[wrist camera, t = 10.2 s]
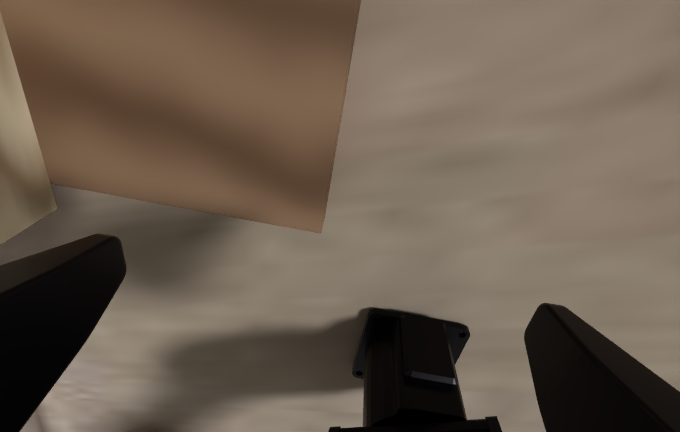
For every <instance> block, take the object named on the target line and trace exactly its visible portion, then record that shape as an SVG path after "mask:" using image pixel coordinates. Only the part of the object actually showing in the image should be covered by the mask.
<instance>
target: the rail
mask: <svg viewBox="0 0 680 432" xmlns="http://www.w3.org/2000/svg"><path fill="white" fill-rule="evenodd" d="M56 209H58V208H57V205H56V201H55V198H54V194H53V191H52V187H51V184H50V181H49V177H48V174H47V170H46V167H45V163H44V160H43V157H42V153H41V150H40V146H39V143H38V139H37V136H36V132H35V129H34V126H33V122H32V119H31V115H30V112H29V108H28V105H27V102H26V98H25V95H24V91H23V88H22V84H21V81H20V78H19V74H18V71H17V67H16V64H15V60H14V57H13V53H12V50H11V47H10V43H9V40H8V36H7V33H6V29H5V26H4V23H3V19H2V16H1V12H0V245H1V244H3V243H4V242H6V241H7V240H9V239H11V238H12V237H14V236H15V235H17V234H18V233H20V232H22V231H23V230H25V229H26V228H28V227H30V226H31V225H33V224H34V223H36V222H37V221H39V220H41V219H42V218H44V217H45V216H47V215H48V214H50V213H52V212H53V211H55V210H56Z"/></svg>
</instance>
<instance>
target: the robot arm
mask: <svg viewBox="0 0 680 432" xmlns="http://www.w3.org/2000/svg"><path fill="white" fill-rule="evenodd" d="M125 275H126V262H125V258H124V254H123V249H122V245H121V241H120V240H119V238H117V237H115V236H110V235H104V234H95V235H91V236H88V237H85V238H82V239H79V240H76V241H73V242H70V243H67V244H64V245H61V246H58V247H55V248H52V249H49V250H46V251H43V252H40V253H37V254H34V255H31V256H28V257H25V258H22V259H19V260H16V261H13V262H10V263H7V264H4V265H1V266H0V432H19V431H20V430H21V429H22V427H23V426H24V425H25V424H26V422H27V421H28V420H29V418H30V417H31V416H32V414H33V413H34V411H35V410H36V409H37V407H38V406H39V405H40V403H41V402H42V401H43V399H44V398H45V397H46V395H47V394H48V393H49V391H50V390H51V388H52V387H53V386H54V384H55V383H56V382H57V380H58V379H59V378H60V376H61V375H62V374H63V372H64V371H65V370H66V368H67V367H68V365H69V364H70V363H71V361H72V360H73V359H74V357H75V356H76V355H77V353H78V352H79V351H80V349H81V348H82V346H83V345H84V343H85V342H86V341H87V339H88V337H89V336H90V334H91V333H92V331H93V330H94V328H95V326H96V325H97V323H98V321H99V320H100V318H101V316H102V315H103V313H104V311H105V310H106V308H107V306H108V305H109V303H110V301H111V299H112V298H113V296H114V294H115V293H116V291H117V289H118V288H119V286H120V284H121V283H122V281H123V279H124V277H125ZM460 332H462V333H460ZM469 337H470V332H469V329H468V327H467V326H466V325H462V324H457V323H451V322H446V321H440V320H435V319H429V318H424V317H418V316H413V315H407V314H402V313H396V312H391V311H385V310H380V309H372V310H371V311H369V313H368V316H367V319H366V323H365V326H364V330H363V333H362V336H361V340H360V343H359V347H358V350H357V354H356V357H355V361H354V364H353V368H352V374H353V376H355V377H357V378H362V379H364V402H363V427H353V428H340V426H339V427H330V428H329V432H502V430H501V427H500V424H499V422H498V419H497V416H492V417H485V419H477V420H467V418H466V414H465V409H464V405H463V400H462V396H461V391H460V387H459V383H458V378H457V374H456V369H455V363H456V362H457V360H458V358H459V356H460V354H461V352H462V350H463V348H464V346H465V344H466V342H467V341H468V339H469ZM524 340H525V345H526V350H527V355H528V359H529V364H530V368H531V373H532V378H533V382H534V387H535V392H536V396H537V401H538V405H539V409H540V413H541V416H542V419H543V423H544V426H545V429H546V432H680V392H679V391H678V390H676V389H675V388H674V387H672V386H671V385H670V384H668V383H667V382H666V381H664V380H663V379H662V378H660V377H659V376H658V375H656V374H655V373H654V372H652V371H651V370H650V369H648V368H647V367H645V366H644V365H643V364H641V363H640V362H639V361H637V360H636V359H635V358H633V357H632V356H631V355H629V354H628V353H627V352H625V351H624V350H623V349H621V348H620V347H618V346H617V345H616V344H614V343H613V342H612V341H610V340H609V339H608V338H606V337H605V336H604V335H602V334H601V333H600V332H598V331H597V330H596V329H594V328H593V327H592V326H590V325H589V324H587V323H586V322H585V321H583V320H582V319H581V318H579V317H578V316H577V315H575V314H574V313H573V312H571V311H570V310H569V309H567V308H566V307H564V306H561V305H556V304H549V303H543V304H541V305H539V307H538V308H537V310H536V312H535V313H534V315H533V317H532V319H531V321H530V322H529V324H528V326H527V328H526V330H525V335H524Z"/></svg>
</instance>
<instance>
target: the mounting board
mask: <svg viewBox="0 0 680 432" xmlns="http://www.w3.org/2000/svg"><path fill="white" fill-rule="evenodd" d="M360 2H361V0H0V12H1V16H2V19H3V23H4V26H5V29H6V33H7V36H8V40H9V43H10V47H11V50H12V53H13V57H14V60H15V64H16V67H17V71H18V74H19V78H20V81H21V84H22V88H23V91H24V95H25V98H26V102H27V105H28V108H29V112H30V115H31V119H32V122H33V126H34V129H35V132H36V136H37V139H38V143H39V146H40V150H41V153H42V157H43V160H44V163H45V167H46V170H47V174H48V177H49V181H50V183H51V184H56V185H62V186H67V187H73V188H78V189H83V190H89V191H94V192H100V193H105V194H110V195H116V196H121V197H127V198H132V199H138V200H143V201H148V202H154V203H159V204H165V205H170V206H175V207H181V208H186V209H192V210H197V211H203V212H208V213H213V214H219V215H224V216H230V217H235V218H241V219H246V220H251V221H257V222H262V223H268V224H273V225H278V226H284V227H289V228H295V229H300V230H306V231H311V232H316V233H321V231H322V226H323V222H324V218H325V212H326V206H327V200H328V194H329V188H330V182H331V176H332V170H333V164H334V158H335V152H336V146H337V140H338V134H339V128H340V122H341V116H342V110H343V104H344V98H345V92H346V86H347V80H348V74H349V68H350V62H351V56H352V50H353V44H354V38H355V32H356V26H357V20H358V14H359V8H360Z"/></svg>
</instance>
